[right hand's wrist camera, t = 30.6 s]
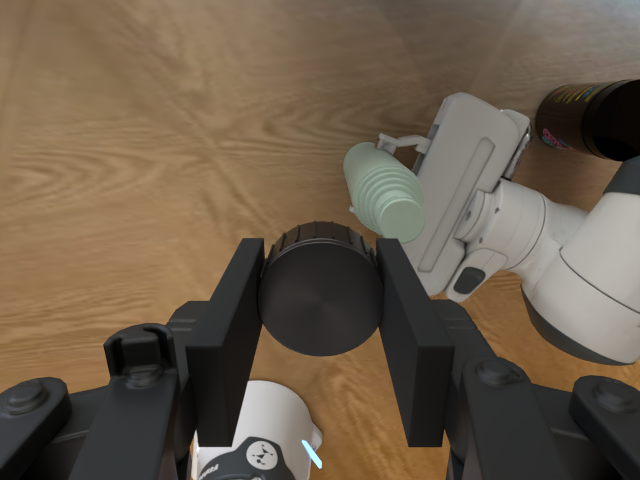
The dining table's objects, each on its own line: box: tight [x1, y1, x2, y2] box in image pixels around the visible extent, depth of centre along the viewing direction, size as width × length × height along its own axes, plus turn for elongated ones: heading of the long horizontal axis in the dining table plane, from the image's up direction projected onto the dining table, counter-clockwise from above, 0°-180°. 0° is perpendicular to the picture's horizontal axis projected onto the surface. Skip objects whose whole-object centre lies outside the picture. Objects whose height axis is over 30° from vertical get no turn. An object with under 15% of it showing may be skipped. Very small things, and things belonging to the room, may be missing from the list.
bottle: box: [343, 142, 425, 244], centre depth 35 cm, size 5×5×22 cm
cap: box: [257, 221, 384, 356], centre depth 14 cm, size 4×4×2 cm
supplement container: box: [535, 79, 640, 162], centre depth 39 cm, size 7×7×10 cm
